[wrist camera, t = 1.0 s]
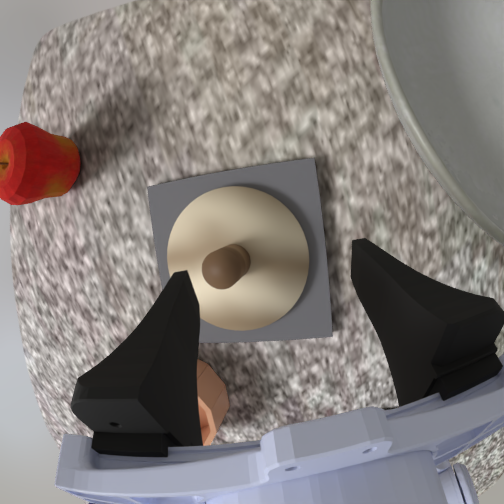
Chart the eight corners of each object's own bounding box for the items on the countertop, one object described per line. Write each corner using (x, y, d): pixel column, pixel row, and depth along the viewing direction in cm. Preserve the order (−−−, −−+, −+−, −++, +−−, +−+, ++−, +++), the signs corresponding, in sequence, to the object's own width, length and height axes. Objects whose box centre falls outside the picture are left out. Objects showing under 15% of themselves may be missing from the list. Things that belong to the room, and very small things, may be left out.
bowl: (235, 432, 32) (223, 459, 28) (154, 423, 35) (136, 445, 30) (219, 351, 31) (202, 375, 26) (131, 349, 34) (107, 367, 29)
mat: (332, 332, 28) (332, 336, 28) (177, 339, 32) (173, 342, 31) (314, 159, 27) (314, 157, 26) (152, 187, 30) (147, 186, 29)
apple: (50, 137, 32) (-21, 126, 21) (95, 129, 31) (18, 109, 19) (45, 202, 34) (-28, 207, 22) (89, 202, 32) (9, 206, 21)
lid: (315, 322, 28) (314, 344, 23) (183, 329, 31) (162, 348, 26) (299, 177, 26) (295, 170, 22) (162, 199, 29) (135, 198, 24)
